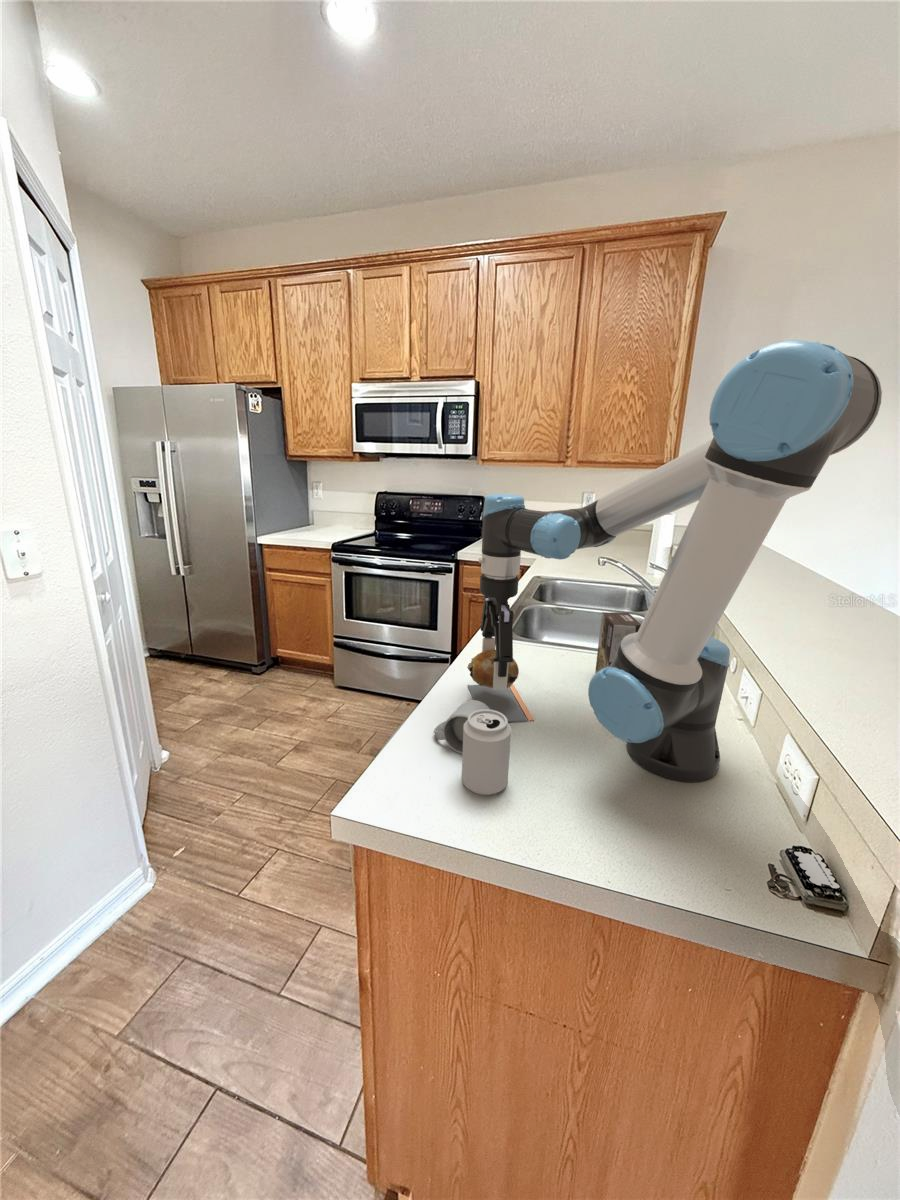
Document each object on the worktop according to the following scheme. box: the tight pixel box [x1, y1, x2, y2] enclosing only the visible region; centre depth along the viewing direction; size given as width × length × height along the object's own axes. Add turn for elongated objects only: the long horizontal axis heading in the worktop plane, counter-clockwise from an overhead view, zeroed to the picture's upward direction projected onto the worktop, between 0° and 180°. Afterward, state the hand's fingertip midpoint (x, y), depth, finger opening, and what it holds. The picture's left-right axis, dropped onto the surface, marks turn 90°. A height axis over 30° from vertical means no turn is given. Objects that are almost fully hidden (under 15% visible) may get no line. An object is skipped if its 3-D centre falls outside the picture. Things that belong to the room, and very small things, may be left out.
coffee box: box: [594, 611, 642, 675], centre depth 111 cm, size 9×6×16 cm
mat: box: [467, 683, 535, 724], centre depth 104 cm, size 16×10×1 cm, turn 9°
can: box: [461, 709, 512, 796], centre depth 77 cm, size 8×8×12 cm
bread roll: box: [467, 649, 520, 688], centre depth 101 cm, size 10×10×8 cm
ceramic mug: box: [433, 699, 490, 755], centre depth 89 cm, size 11×8×8 cm
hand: (493, 676), depth 102 cm, fingers closed on bread roll, 10 cm apart
